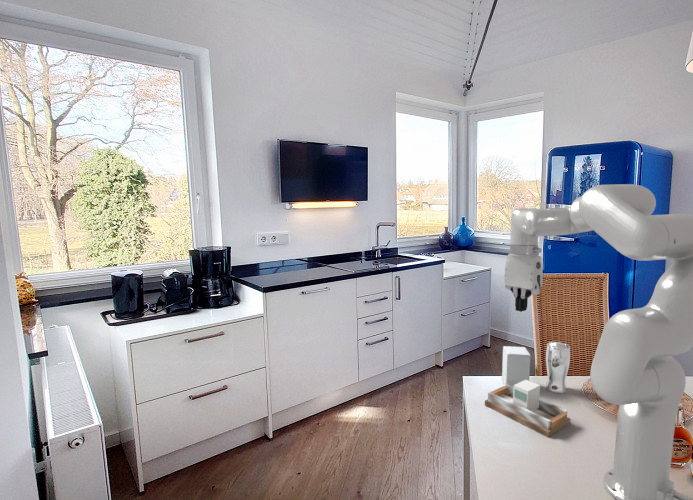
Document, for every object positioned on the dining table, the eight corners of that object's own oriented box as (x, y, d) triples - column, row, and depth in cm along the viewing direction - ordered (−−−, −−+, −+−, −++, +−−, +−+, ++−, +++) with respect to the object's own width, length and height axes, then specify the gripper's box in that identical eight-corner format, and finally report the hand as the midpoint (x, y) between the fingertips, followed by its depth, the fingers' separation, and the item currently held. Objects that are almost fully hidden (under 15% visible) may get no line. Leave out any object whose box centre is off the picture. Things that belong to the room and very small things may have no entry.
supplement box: (529, 392, 130) (531, 355, 128) (505, 390, 132) (506, 353, 130) (524, 381, 137) (525, 346, 135) (501, 380, 139) (502, 345, 137)
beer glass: (567, 396, 127) (570, 351, 125) (543, 391, 131) (545, 347, 129) (568, 386, 133) (570, 343, 131) (544, 382, 137) (547, 340, 135)
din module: (538, 407, 117) (540, 385, 116) (526, 414, 113) (527, 391, 112) (524, 401, 120) (525, 379, 120) (512, 407, 117) (513, 385, 116)
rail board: (569, 423, 112) (570, 410, 112) (548, 437, 106) (548, 423, 106) (506, 394, 129) (507, 383, 128) (484, 405, 123) (485, 393, 122)
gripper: (555, 251, 114) (551, 314, 117) (508, 246, 127) (506, 303, 129) (540, 254, 110) (537, 318, 113) (493, 248, 123) (491, 306, 125)
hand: (520, 310), depth 121 cm, fingers closed
